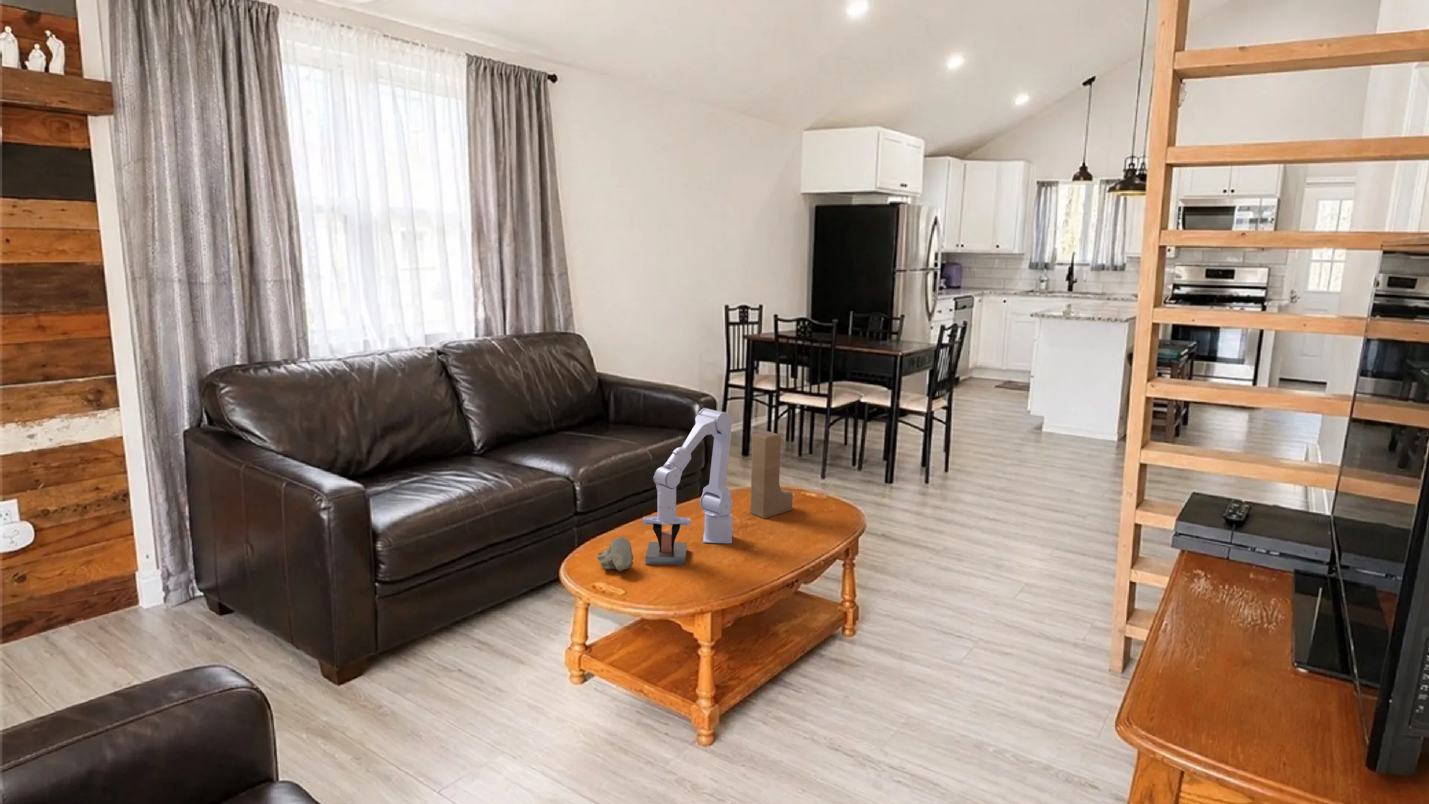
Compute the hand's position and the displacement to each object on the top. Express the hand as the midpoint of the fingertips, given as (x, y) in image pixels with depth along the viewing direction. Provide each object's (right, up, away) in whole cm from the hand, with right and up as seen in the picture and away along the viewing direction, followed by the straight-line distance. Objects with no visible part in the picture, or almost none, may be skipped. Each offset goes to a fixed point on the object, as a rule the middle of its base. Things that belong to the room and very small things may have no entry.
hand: (666, 546), depth 254 cm
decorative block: (+36, +5, +43) cm, 56 cm away
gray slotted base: (0, -3, +1) cm, 3 cm away
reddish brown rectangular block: (0, -3, +1) cm, 3 cm away
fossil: (-15, -5, -8) cm, 18 cm away
